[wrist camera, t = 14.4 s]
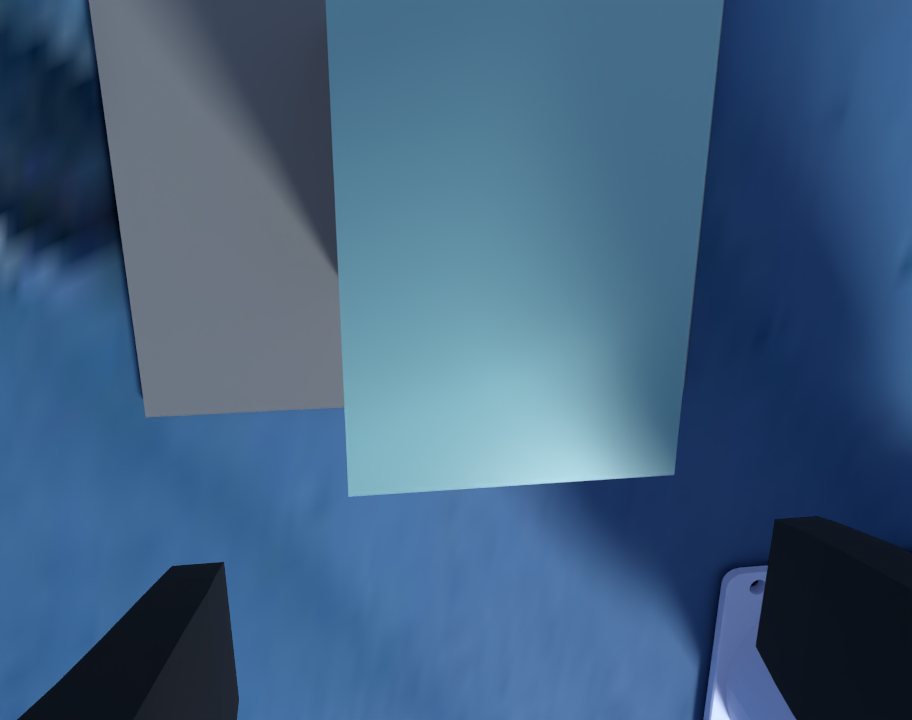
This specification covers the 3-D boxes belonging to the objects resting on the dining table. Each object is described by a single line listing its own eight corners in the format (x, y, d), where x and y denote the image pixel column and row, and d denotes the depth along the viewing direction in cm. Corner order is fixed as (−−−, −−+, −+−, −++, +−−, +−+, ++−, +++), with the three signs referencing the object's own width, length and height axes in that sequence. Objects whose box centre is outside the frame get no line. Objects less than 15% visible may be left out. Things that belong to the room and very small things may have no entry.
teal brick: (578, 3, 12) (731, -73, 7) (561, 354, 14) (673, 474, 9) (330, -4, 11) (320, -91, 7) (346, 363, 13) (348, 496, 9)
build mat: (725, -110, 17) (736, -117, 16) (676, 384, 21) (684, 390, 20) (77, -142, 15) (67, -150, 14) (150, 409, 19) (145, 417, 18)
